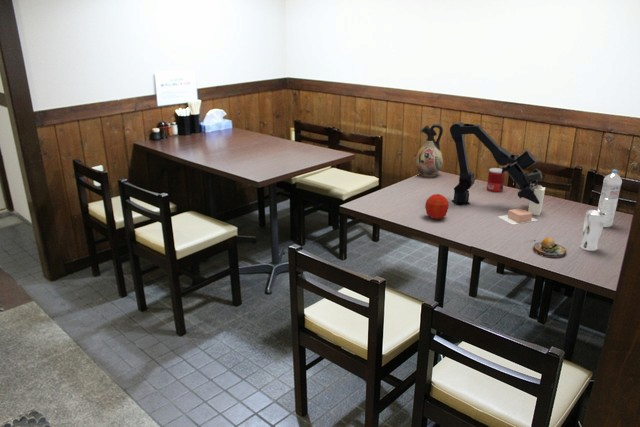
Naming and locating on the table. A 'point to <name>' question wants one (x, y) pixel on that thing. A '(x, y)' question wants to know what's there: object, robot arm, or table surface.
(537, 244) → the burger
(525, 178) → the robot arm
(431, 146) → the ceramic jug
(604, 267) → the table surface
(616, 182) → the water bottle
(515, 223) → the baseplate
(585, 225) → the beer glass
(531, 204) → the tall block
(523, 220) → the base block
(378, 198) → the table surface
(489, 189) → the canned food
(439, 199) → the apple
